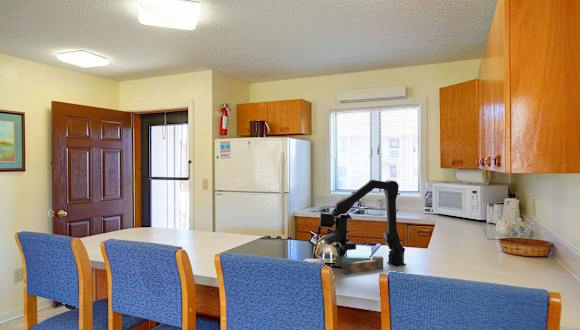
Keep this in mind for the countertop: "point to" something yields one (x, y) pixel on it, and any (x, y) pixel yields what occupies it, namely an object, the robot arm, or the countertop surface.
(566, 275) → the countertop surface
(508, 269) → the countertop surface
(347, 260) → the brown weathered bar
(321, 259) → the charger
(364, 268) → the wooden block
